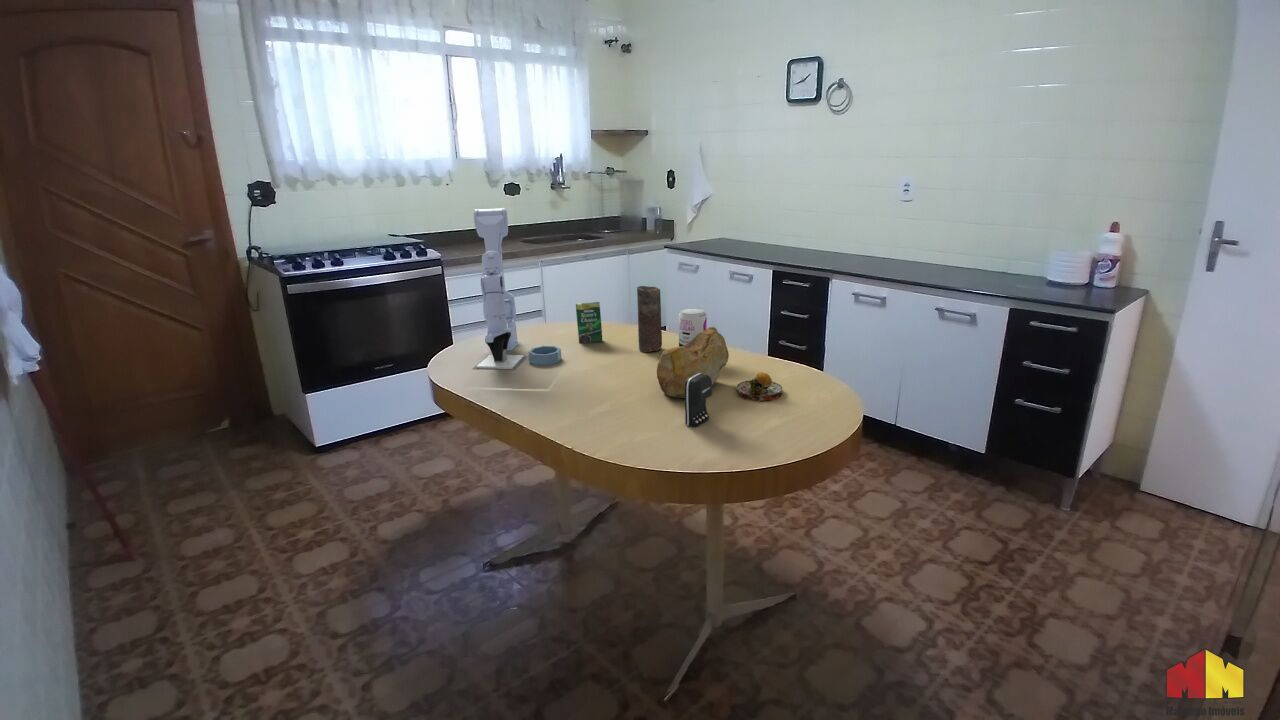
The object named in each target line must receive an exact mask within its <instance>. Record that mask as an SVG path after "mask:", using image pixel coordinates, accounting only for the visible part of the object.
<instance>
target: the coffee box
mask: <svg viewBox="0 0 1280 720" xmlns="http://www.w3.org/2000/svg"><path fill="white" fill-rule="evenodd" d="M575 310H576V311H575V313H576V323H577V324H576V325H577V333H578V334H577V336H578V343H579V344H590V343H603V330H602V329H603V328H602V326H603V325H602V316H601V305H600V302H599V301H593V302H580V303H575Z"/></svg>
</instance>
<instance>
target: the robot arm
mask: <svg viewBox="0 0 1280 720" xmlns="http://www.w3.org/2000/svg"><path fill="white" fill-rule="evenodd" d="M473 218H474V219H473V220H474V227H475V231H476V233H477V235H478V237H479V238H482V239H484V246H485V247H484V248H485V249H484V250H485V252H484V253H483V254H482V255H481V270H482V272H481V273H482V275H481V277H480V290H481V293H482V299H483V300H482V301H483V302H482V303H483V304H482V308H483V309H482V311H483V316H484V317H483V318H484V320H485V321H486V327H487V328H486V334H485V336H484V340H485V341H484V342H485V344H486V345H487V347H488V348H487V351H490V352H491V355H493V358H494V360H495V361H502V357H503V349H506V353H507V354H508V351H513V349H514V348H515V347H517V346H518V345H519V344H520V343H521V341H518V333H517V324H516V322H515V319H516V318H517V312H516V311H517V310H516V301H515V297H514V295H513V294H512V293H511V292H509V291H508V290H506V284H505V282H506V281H505V276H504V275H505V274H504V265H503V264H504V261H503V250H502V249H503V248H502V242H503V239H504V238H506V237H507V236H508V233H509V220H508V211H507V208H505V207H502V208H483V209H478V208H475V209H474V211H473Z"/></svg>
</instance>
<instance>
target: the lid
mask: <svg viewBox="0 0 1280 720" xmlns="http://www.w3.org/2000/svg"><path fill="white" fill-rule="evenodd" d="M487 356H488V355H487ZM487 356H486V357H484V358H485V359H484V358H483V359H484V360H483V359H482V360H483V361H482V360H481V361H482V362H481V361H480V362H481V363H480V362H479V363H477V364H478V365H477V364H476V365H477V366H476V365H475V366H476V368H494V369H513V368H514V367H515V366H516V365H517V364H518V363H519V362H520V361H521V360H522V359H523V358H524V356H525V355H523V354H522V355H521V354H518V355H517V354H508V352H507V353H506V349H503V357H502V361H495V360H494V358H493V355H492V354H489V356H488V357H487Z"/></svg>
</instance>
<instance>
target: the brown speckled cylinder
mask: <svg viewBox="0 0 1280 720" xmlns="http://www.w3.org/2000/svg"><path fill="white" fill-rule="evenodd" d="M636 294H637V295H636V296H637V301H636V302H637V322H638V323H637V326H638V327H637V328H638V330H637V331H638V333H637V335H638V350H639V351H640V352H642V353H651V352H655V351H659V350H660V349H662V347H663V334H662V331H663V330H662V307H661V306H662V302H661V300H662V299H661V298H662V297H661V289H660V288H658V287H657V286H647V285H639V286H637V287H636Z"/></svg>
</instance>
